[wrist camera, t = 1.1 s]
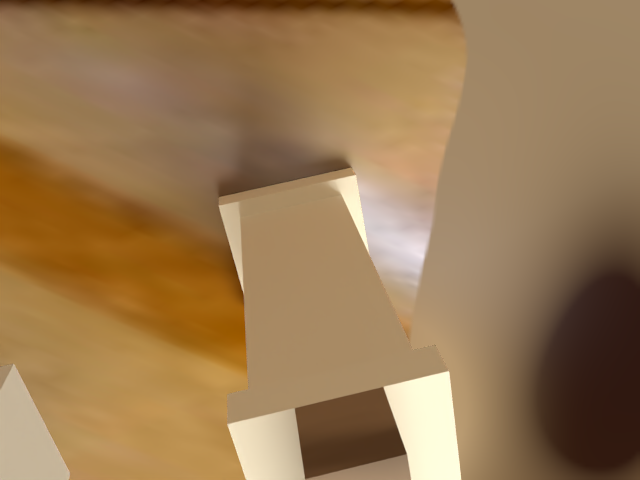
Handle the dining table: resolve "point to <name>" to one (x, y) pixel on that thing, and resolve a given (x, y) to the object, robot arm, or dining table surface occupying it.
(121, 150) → the dining table surface
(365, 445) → the walnut bar
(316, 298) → the white pedestal
